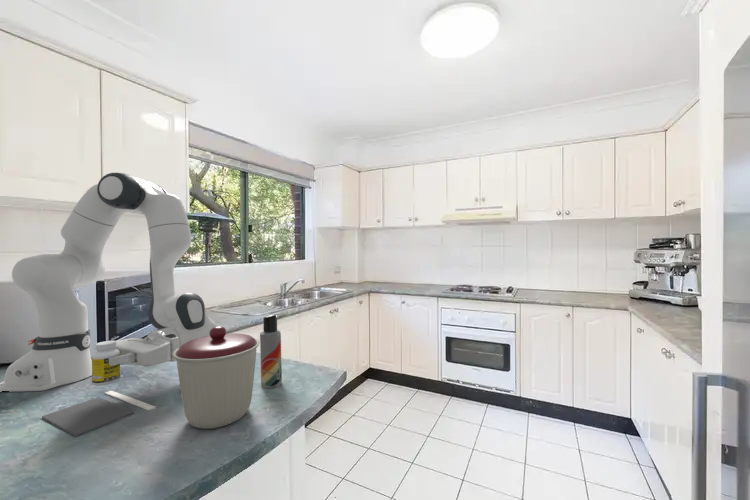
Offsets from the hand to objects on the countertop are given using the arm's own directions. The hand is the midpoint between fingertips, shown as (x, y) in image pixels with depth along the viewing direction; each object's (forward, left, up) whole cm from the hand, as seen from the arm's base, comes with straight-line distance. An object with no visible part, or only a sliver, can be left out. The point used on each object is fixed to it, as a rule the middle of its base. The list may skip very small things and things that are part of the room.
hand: (101, 360), depth 79 cm
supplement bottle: (+1, +1, -6) cm, 6 cm away
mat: (-2, -2, -12) cm, 13 cm away
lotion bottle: (+39, +5, -12) cm, 42 cm away
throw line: (+4, +4, -12) cm, 14 cm away
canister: (+29, -11, -13) cm, 34 cm away
